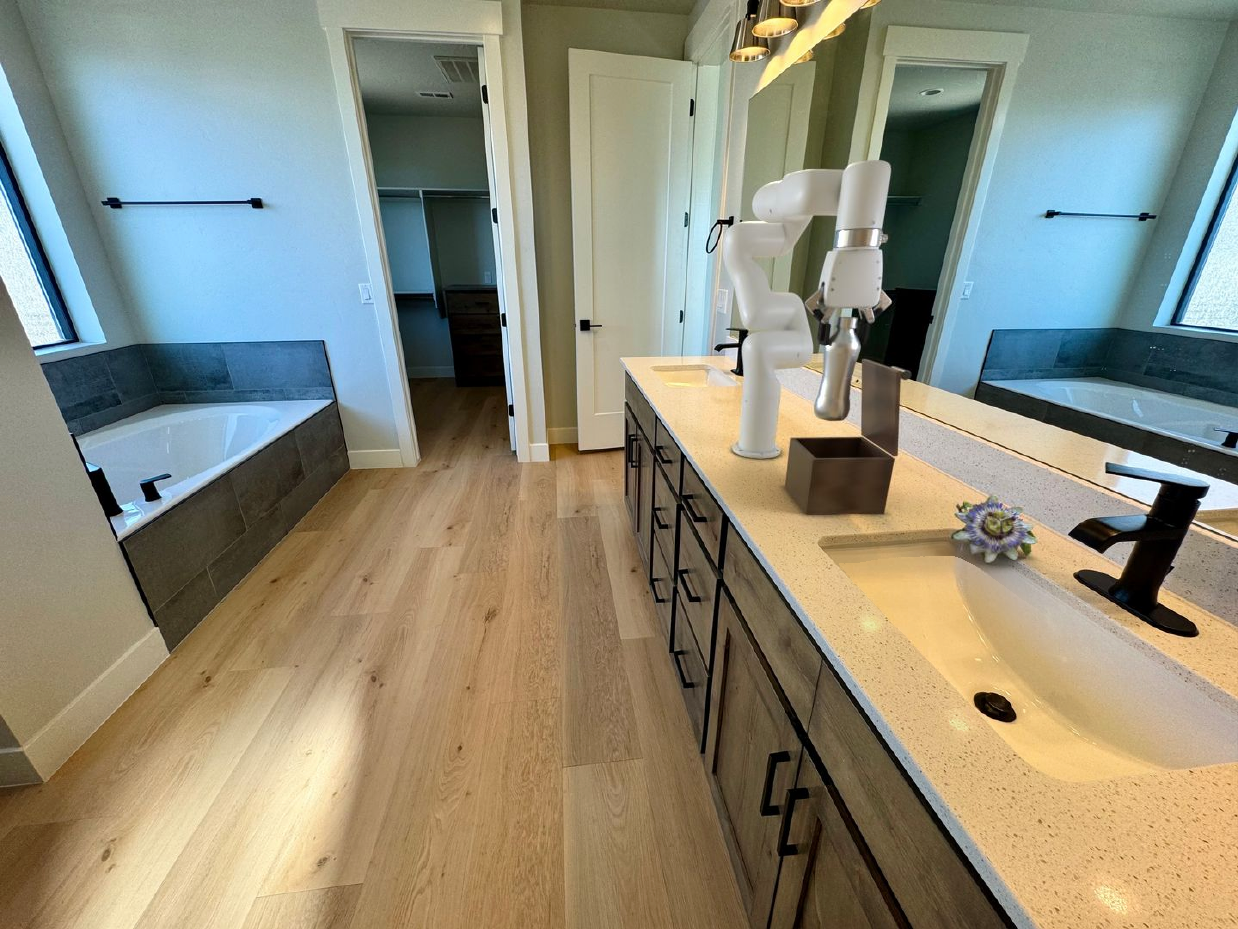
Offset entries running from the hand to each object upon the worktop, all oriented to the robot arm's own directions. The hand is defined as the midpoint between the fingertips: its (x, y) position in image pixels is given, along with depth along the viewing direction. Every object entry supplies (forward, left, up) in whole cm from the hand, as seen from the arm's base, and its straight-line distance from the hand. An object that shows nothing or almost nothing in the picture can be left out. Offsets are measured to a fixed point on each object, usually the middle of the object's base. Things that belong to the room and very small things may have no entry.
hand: (841, 343), depth 94 cm
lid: (+1, +8, -12) cm, 15 cm away
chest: (+1, +2, -32) cm, 32 cm away
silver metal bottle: (0, 0, -15) cm, 15 cm away
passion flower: (+22, +20, -33) cm, 44 cm away
